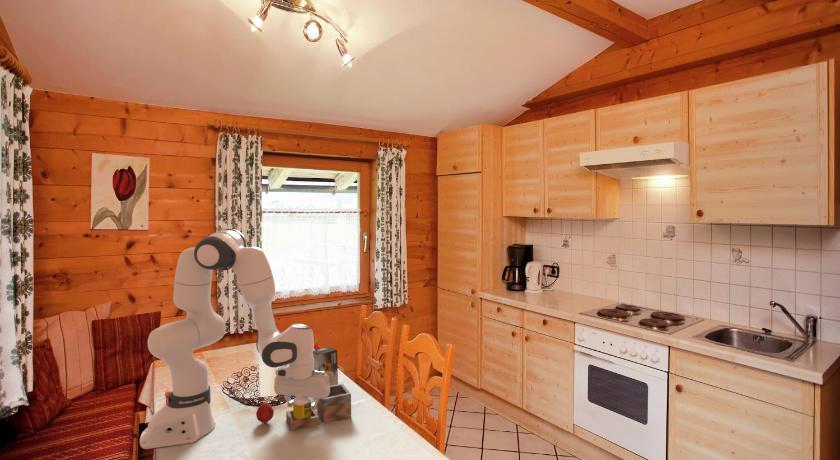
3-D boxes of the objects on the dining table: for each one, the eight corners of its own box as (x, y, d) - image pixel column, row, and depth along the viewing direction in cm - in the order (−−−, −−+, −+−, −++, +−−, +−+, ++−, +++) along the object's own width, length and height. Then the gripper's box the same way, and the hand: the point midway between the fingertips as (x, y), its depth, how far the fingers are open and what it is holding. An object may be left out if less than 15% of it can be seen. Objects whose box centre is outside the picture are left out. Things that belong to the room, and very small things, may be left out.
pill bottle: (306, 427, 155) (306, 396, 154) (290, 425, 156) (289, 395, 155) (314, 418, 161) (313, 389, 160) (298, 416, 162) (298, 387, 161)
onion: (257, 429, 153) (257, 406, 153) (255, 421, 158) (254, 400, 158) (275, 425, 156) (274, 403, 155) (272, 417, 161) (271, 396, 160)
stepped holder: (291, 431, 152) (291, 406, 151) (286, 418, 160) (285, 394, 160) (351, 417, 161) (350, 393, 161) (342, 406, 170) (342, 383, 170)
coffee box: (330, 381, 193) (330, 345, 191) (338, 386, 188) (338, 349, 187) (311, 387, 187) (310, 350, 185) (318, 392, 182) (318, 354, 181)
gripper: (332, 368, 157) (333, 406, 158) (280, 364, 162) (281, 400, 163) (325, 375, 151) (325, 414, 152) (271, 370, 156) (272, 408, 157)
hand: (302, 407), depth 157 cm, fingers open, 8 cm apart
